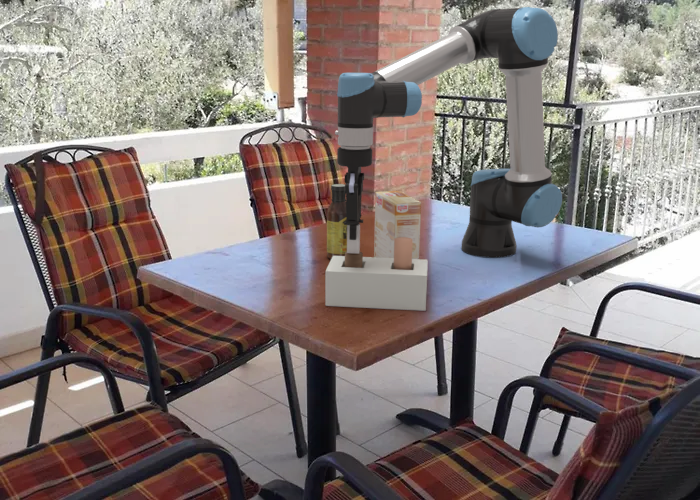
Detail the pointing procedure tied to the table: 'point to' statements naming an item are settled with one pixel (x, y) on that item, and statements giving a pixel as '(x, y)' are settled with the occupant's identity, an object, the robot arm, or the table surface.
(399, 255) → the peg
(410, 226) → the coffeecake box
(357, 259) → the peg
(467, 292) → the table surface
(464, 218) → the table surface
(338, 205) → the sauce bottle
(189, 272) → the table surface
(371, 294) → the block
